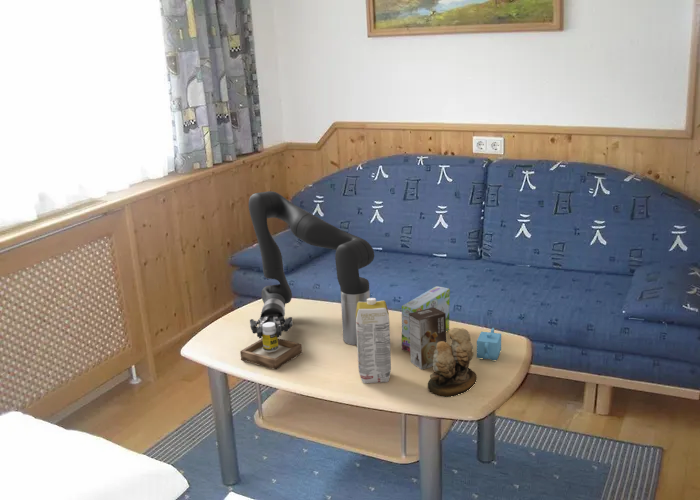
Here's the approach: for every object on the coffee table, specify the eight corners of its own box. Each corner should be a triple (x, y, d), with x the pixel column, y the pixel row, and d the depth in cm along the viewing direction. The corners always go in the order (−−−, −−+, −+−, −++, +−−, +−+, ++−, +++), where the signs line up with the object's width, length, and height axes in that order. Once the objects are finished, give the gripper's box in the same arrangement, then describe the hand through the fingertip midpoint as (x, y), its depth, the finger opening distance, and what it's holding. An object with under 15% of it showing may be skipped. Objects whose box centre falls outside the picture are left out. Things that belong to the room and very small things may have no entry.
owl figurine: (451, 366, 215) (451, 312, 209) (487, 376, 208) (488, 321, 202) (417, 390, 201) (417, 334, 196) (454, 402, 194) (455, 344, 189)
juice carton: (390, 370, 213) (387, 294, 206) (392, 383, 206) (389, 305, 198) (358, 372, 213) (354, 296, 206) (359, 385, 206) (355, 306, 198)
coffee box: (435, 354, 222) (434, 306, 217) (447, 362, 216) (446, 313, 212) (409, 362, 218) (408, 312, 213) (421, 370, 212) (420, 320, 208)
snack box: (416, 354, 223) (415, 309, 218) (401, 350, 226) (399, 305, 222) (450, 330, 239) (450, 287, 234) (436, 326, 242) (435, 284, 238)
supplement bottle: (272, 353, 223) (269, 328, 220) (260, 350, 225) (257, 326, 223) (281, 347, 227) (279, 322, 224) (269, 344, 229) (267, 320, 226)
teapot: (483, 346, 226) (483, 323, 224) (502, 348, 224) (503, 325, 222) (475, 362, 216) (475, 339, 213) (496, 365, 213) (496, 341, 211)
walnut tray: (302, 352, 228) (301, 344, 227) (276, 369, 218) (275, 360, 217) (267, 344, 235) (267, 335, 234) (241, 359, 225) (240, 351, 224)
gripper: (250, 303, 236) (244, 325, 220) (294, 301, 237) (291, 322, 220) (252, 324, 239) (246, 347, 223) (295, 322, 239) (293, 345, 223)
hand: (268, 335), depth 222 cm, fingers closed on supplement bottle, 4 cm apart
